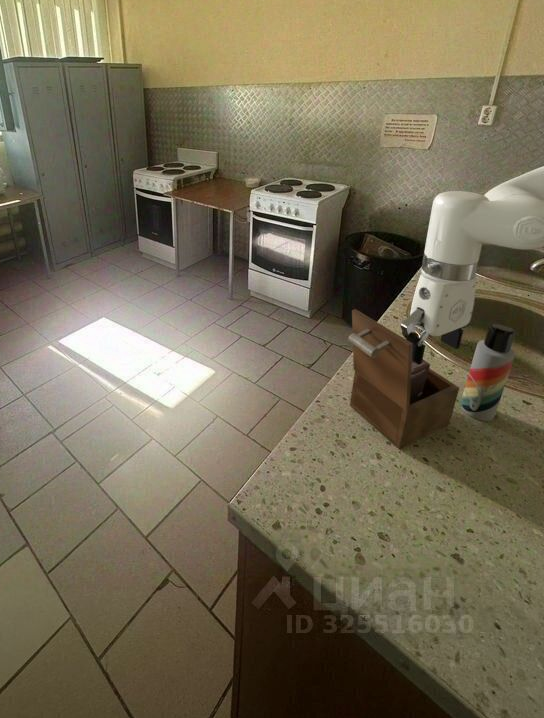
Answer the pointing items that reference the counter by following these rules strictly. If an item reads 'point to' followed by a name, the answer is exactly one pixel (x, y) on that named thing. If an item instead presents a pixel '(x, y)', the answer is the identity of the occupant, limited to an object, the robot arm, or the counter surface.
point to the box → (418, 380)
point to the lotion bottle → (488, 373)
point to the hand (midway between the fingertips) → (431, 352)
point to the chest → (400, 422)
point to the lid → (382, 358)
